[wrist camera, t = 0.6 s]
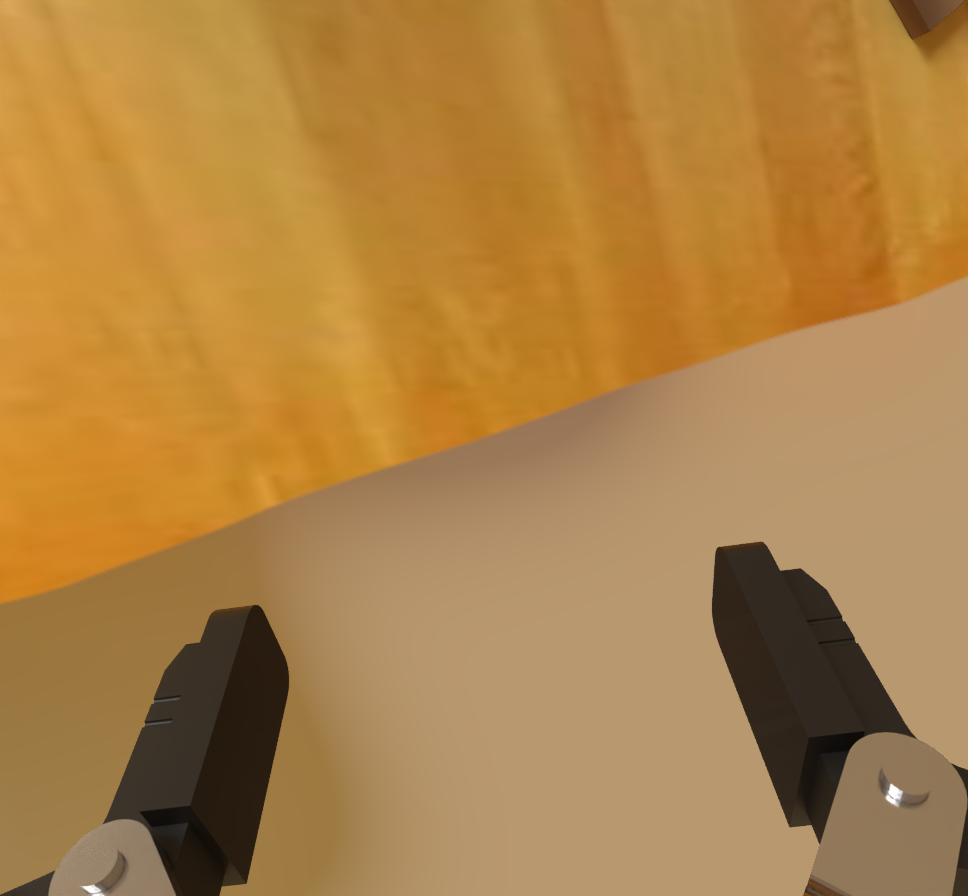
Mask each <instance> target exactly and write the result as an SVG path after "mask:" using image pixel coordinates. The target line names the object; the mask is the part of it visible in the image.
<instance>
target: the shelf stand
mask: <svg viewBox="0 0 968 896" xmlns="http://www.w3.org/2000/svg"><path fill="white" fill-rule="evenodd" d="M890 1H891V3H892V4H893V6H894V8H895V10H896V12H897V13H898V15H899V17H900V19H901V20H902V22H903V24H904V26H905V27H906V29H907V31H908V33H909V34H910V36H911V38H912V39H913V38H915V37H918V36H920V35H922V34H925V33H927V32H930V31H931V30H932V29H933V28H934V27H936V26H937V25H938V24H939V23H940V22H941V21H942V20H943V19H944V18H946V17H947V16H948V15H949V14H950V13H951V12H952V11H953V10H954V9H955V8H957V7H958V6H959V5H960V4H961V3H962V2H963V1H964V0H890Z"/></svg>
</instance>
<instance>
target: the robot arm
mask: <svg viewBox="0 0 968 896" xmlns="http://www.w3.org/2000/svg"><path fill="white" fill-rule="evenodd" d="M712 617H713V623H714V628H715V633H716V637H717V640H718V643H719V646H720V648H721V651H722V653H723V656H724V658H725V661H726V664H727V666H728V669H729V672H730V674H731V677H732V679H733V682H734V684H735V687H736V690H737V692H738V695H739V698H740V700H741V703H742V705H743V708H744V711H745V713H746V716H747V718H748V721H749V723H750V726H751V729H752V731H753V734H754V736H755V739H756V741H757V744H758V746H759V749H760V752H761V755H762V757H763V760H764V762H765V765H766V767H767V770H768V772H769V775H770V778H771V780H772V783H773V786H774V788H775V791H776V793H777V796H778V799H779V801H780V804H781V806H782V809H783V812H784V814H785V817H786V819H787V822H788V824H789V827H797V826H806V825H812V827H813V829H814V832H815V834H816V837H817V839H818V842H819V844H820V846H819V849H818V853H817V856H816V859H815V862H814V866H813V869H812V872H811V875H810V878H809V881H808V885H807V887H806V889H805V892H804V895H803V896H968V770H966V769H964V768H961V767H958V766H956V765H954V764H952V763H950V762H949V761H948V760H947V759H946V758H945V757H944V756H943V755H942V754H940V753H939V752H938V751H936V750H935V749H934V748H932V747H930V746H929V745H927V744H926V743H924V742H922V741H920V740H918V739H917V738H916V737H915V736H914V735H913V734H912V733H911V731H910V730H909V729H908V727H907V725H906V724H905V723H904V721H903V719H902V717H901V716H900V714H899V712H898V711H897V709H896V707H895V705H894V704H893V702H892V700H891V699H890V697H889V695H888V694H887V692H886V690H885V689H884V687H883V685H882V683H881V682H880V680H879V678H878V677H877V675H876V673H875V671H874V670H873V668H872V666H871V665H870V663H869V661H868V660H867V658H866V656H865V654H864V653H863V651H862V649H861V648H860V646H859V644H858V643H856V642H855V638H854V636H853V634H852V632H851V631H850V629H849V627H848V625H847V624H846V622H845V621H844V622H843V620H842V615H841V613H840V612H839V610H838V608H837V607H836V605H835V603H834V602H833V600H832V598H831V596H830V595H829V593H828V591H827V590H826V589H825V588H824V587H823V586H821V585H820V584H819V583H818V582H817V581H815V580H814V579H813V578H812V577H810V576H809V575H808V574H806V573H805V572H804V571H803V570H802V569H792V570H784V571H780V570H779V568H778V566H777V564H776V562H775V560H774V558H773V556H772V554H771V553H770V551H769V549H768V547H767V546H766V545H765V544H764V543H763V542H755V543H747V544H739V545H732V546H724V547H718V548H717V550H716V554H715V566H714V582H713V598H712ZM288 690H289V672H288V666H287V662H286V659H285V656H284V654H283V652H282V650H281V647H280V645H279V643H278V641H277V639H276V637H275V635H274V633H273V630H272V628H271V626H270V624H269V622H268V620H267V618H266V616H265V613H264V611H263V610H262V608H261V607H260V606H259V605H252V606H245V607H236V608H229V609H221V610H215V611H214V612H213V613H212V614H211V615H210V617H209V619H208V622H207V625H206V627H205V630H204V633H203V636H202V638H201V641H200V643H193V644H186V645H185V646H184V648H183V649H182V650H181V651H180V653H179V654H178V655H177V656H176V657H175V659H174V660H173V661H172V662H171V664H170V665H169V666H168V667H167V669H166V670H165V672H164V674H163V677H162V679H161V682H160V684H159V687H158V689H157V692H156V694H155V697H154V704H152V705H151V707H150V709H149V712H148V714H147V717H146V720H145V727H144V728H142V730H141V732H140V735H139V737H138V740H137V742H136V745H135V747H134V750H133V752H132V755H131V757H130V760H129V763H128V765H127V768H126V770H125V773H124V775H123V777H122V780H121V783H120V785H119V788H118V790H117V793H116V795H115V798H114V800H113V803H112V805H111V808H110V810H109V813H108V815H107V817H106V819H105V821H104V823H103V825H101V826H99V827H97V828H95V829H94V830H92V831H91V832H89V833H87V835H85V836H84V837H82V838H81V839H80V840H79V841H78V842H77V843H76V844H75V845H74V846H73V847H72V848H71V849H70V850H69V851H68V852H67V854H66V855H65V856H64V858H63V859H62V861H61V862H60V863H59V865H58V867H57V869H56V870H55V871H53V872H51V873H49V874H47V875H45V876H42V877H40V878H38V879H36V880H33V881H31V882H29V883H26V884H24V885H22V886H20V887H18V888H15V889H13V890H10V891H8V892H6V893H4V894H1V895H0V896H219V895H220V891H221V887H222V886H230V885H239V884H246V883H247V879H248V875H249V870H250V866H251V861H252V856H253V851H254V847H255V842H256V838H257V834H258V829H259V824H260V820H261V815H262V811H263V806H264V801H265V797H266V792H267V788H268V783H269V778H270V774H271V769H272V764H273V760H274V756H275V751H276V746H277V742H278V737H279V733H280V728H281V723H282V719H283V714H284V710H285V705H286V701H287V696H288Z"/></svg>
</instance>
